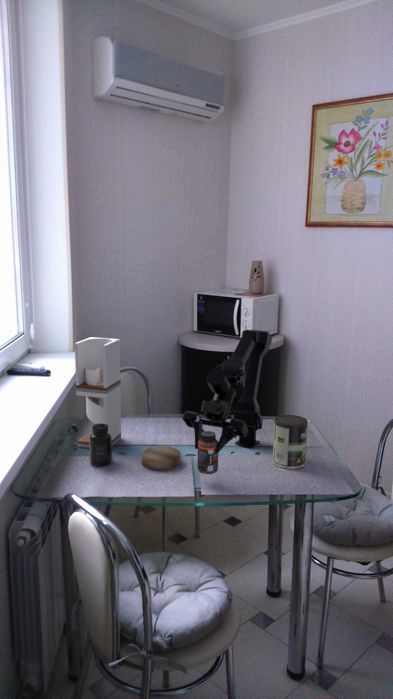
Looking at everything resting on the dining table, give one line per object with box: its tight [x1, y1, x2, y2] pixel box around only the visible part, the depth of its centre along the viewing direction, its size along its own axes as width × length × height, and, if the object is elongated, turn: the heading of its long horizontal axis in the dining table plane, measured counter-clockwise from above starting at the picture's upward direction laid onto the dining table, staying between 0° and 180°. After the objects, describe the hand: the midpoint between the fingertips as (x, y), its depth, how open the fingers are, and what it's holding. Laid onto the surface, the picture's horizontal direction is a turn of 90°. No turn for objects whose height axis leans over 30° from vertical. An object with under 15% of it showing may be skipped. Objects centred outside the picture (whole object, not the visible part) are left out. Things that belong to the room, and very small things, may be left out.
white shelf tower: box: [74, 336, 122, 449], centre depth 182 cm, size 11×11×35 cm
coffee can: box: [271, 414, 309, 470], centre depth 171 cm, size 10×10×14 cm
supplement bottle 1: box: [89, 424, 113, 468], centre depth 168 cm, size 7×7×12 cm
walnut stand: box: [141, 445, 182, 472], centre depth 170 cm, size 12×12×3 cm
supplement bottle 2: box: [196, 430, 219, 475], centre depth 155 cm, size 6×6×11 cm
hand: (206, 450), depth 154 cm, fingers closed on supplement bottle 2, 6 cm apart
